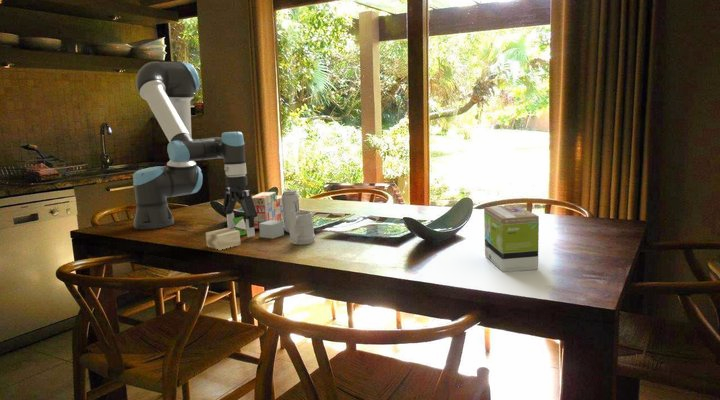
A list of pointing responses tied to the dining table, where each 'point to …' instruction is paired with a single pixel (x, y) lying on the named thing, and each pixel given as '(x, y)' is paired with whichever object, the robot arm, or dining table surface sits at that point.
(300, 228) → the mug
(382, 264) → the dining table surface
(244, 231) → the geometric puzzle
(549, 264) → the dining table surface
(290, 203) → the energy drink can
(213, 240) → the beech block
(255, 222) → the stack of blocks
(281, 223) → the grey block
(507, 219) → the tea box
